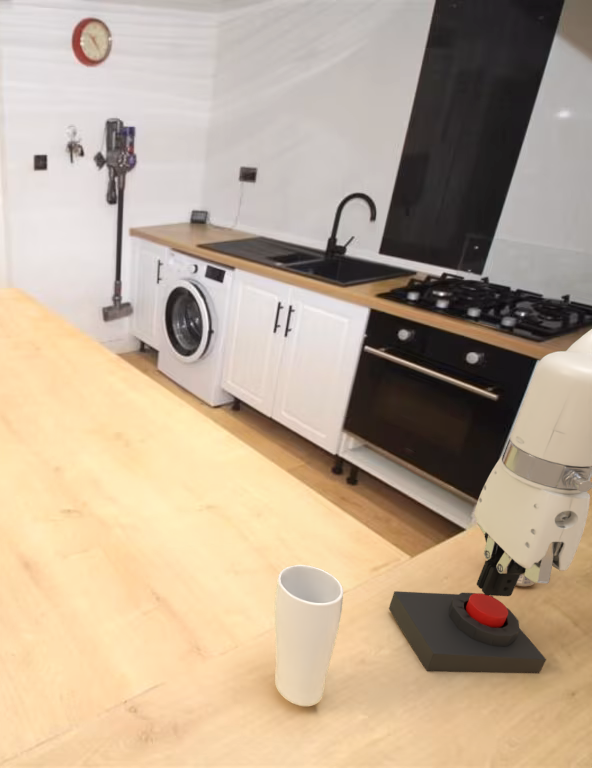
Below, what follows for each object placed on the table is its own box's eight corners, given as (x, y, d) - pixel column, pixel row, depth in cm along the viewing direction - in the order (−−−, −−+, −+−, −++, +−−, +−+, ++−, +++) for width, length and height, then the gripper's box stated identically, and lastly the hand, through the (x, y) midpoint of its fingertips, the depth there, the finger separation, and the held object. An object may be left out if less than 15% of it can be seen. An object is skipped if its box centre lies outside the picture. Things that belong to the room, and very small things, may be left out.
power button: (490, 603, 70) (495, 593, 69) (511, 629, 66) (516, 618, 66) (458, 602, 70) (462, 592, 69) (477, 627, 67) (482, 616, 66)
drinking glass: (324, 725, 59) (339, 613, 54) (261, 698, 63) (270, 591, 58) (333, 680, 64) (348, 575, 60) (275, 658, 68) (284, 557, 63)
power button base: (485, 613, 74) (496, 585, 72) (537, 678, 65) (552, 648, 63) (388, 608, 75) (397, 580, 73) (426, 672, 66) (437, 642, 64)
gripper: (642, 506, 52) (571, 643, 60) (533, 432, 66) (486, 551, 73) (562, 502, 53) (501, 639, 60) (469, 429, 66) (429, 548, 74)
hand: (493, 590), depth 67 cm, fingers closed
